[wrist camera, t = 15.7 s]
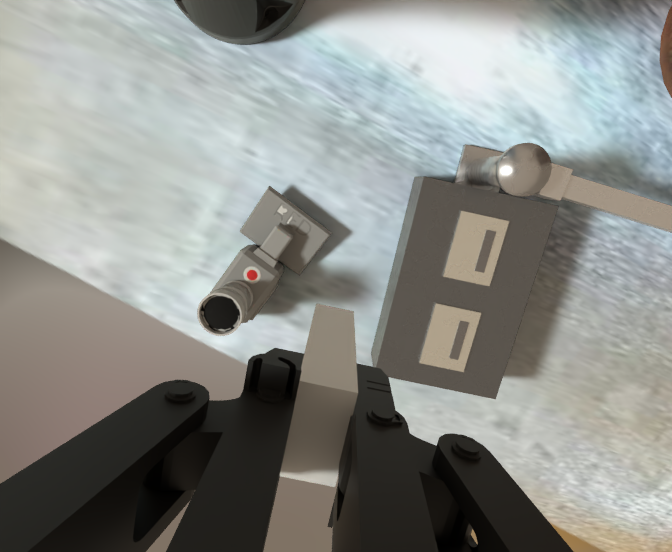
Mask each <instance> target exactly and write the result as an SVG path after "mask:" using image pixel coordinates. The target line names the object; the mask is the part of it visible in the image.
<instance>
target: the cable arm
mask: <svg viewBox="0 0 672 552" xmlns="http://www.w3.org/2000/svg"><path fill="white" fill-rule="evenodd" d="M551 165H552V169H551V175H550V178H549V180H548V182H547V183H546V185H545V186H544V187H543V188H542V189H541V190H540V191H538V192H537V193H535V194H533V195H534V196H537V197H540V198H543V199H548V200H557V201H560V200H561V199H563V200H566V201H570V202H573V203H576V204H579V205H583V206H586V207H589V208H592V209H596V210H599V211H602V212H605V213H609V214H612V215H615V216H618V217H622V218H625V219H628V220H631V221H635V222H638V223H641V224H644V225H648V226H651V227H654V228H657V229H661V230H664V231H667V232H670V233H672V206H670V205H667V204H664V203H660V202H657V201H654V200H651V199H647V198H644V197H641V196H638V195H635V194H631V193H628V192H625V191H622V190H618V189H615V188H612V187H609V186H606V185H602V184H599V183H596V182H593V181H589V180H586V179H583V178H580V177H577V176H573V175H571V174H572V171H573V169H570V168H566V167H563V166H560V165H557V164H554V163H551Z"/></svg>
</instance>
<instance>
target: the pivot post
mask: <svg viewBox="0 0 672 552" xmlns="http://www.w3.org/2000/svg"><path fill="white" fill-rule="evenodd" d="M551 169H552V165H551V160H550V157H549V155H548V153H547V152H546V151H545V150H544V149H543V148H542V147H540V146H539V145H536V144H533V143H522V144H518V145H514V146H512V147H510V148H509V149H507V150H506V151H505V152H504V153H502V152H498V151H493V150H489V149H484V148H480V147H475V146H471V145H466V144H465V145H464V146H463V150H462V153H461V157H460V161H459V165H458V168H457V172H456V176H455V180H454V183H456V184H460V185H465V186H469V187H474V188H478V189H483V190H488V191H492V192H497V193H498V192H499V189H500V188H501V189H502V190H503V191H505V192H506V193H508V194H510V195H513V196H520V197H525V196H530V195H533V194H535V193H537V192H538V191H540V190H541V189H542V188H543V187H544V186H545V185H546V183H547V182H548V180H549V178H550V175H551Z"/></svg>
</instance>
